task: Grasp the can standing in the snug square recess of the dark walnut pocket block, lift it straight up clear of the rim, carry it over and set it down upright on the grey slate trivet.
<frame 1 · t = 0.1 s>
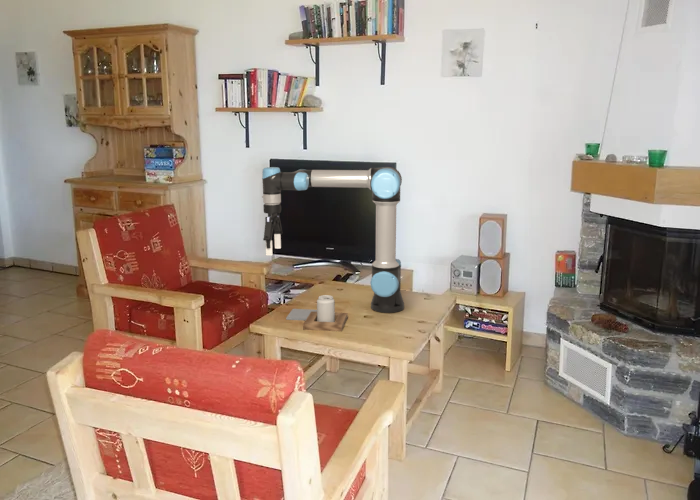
hand: (273, 251, 259), 28 cm above the table, fingers open, 13 cm apart
pocket block: (326, 323, 250), on the table
can: (326, 324, 250), resting in pocket block
trivet: (303, 315, 260), on the table
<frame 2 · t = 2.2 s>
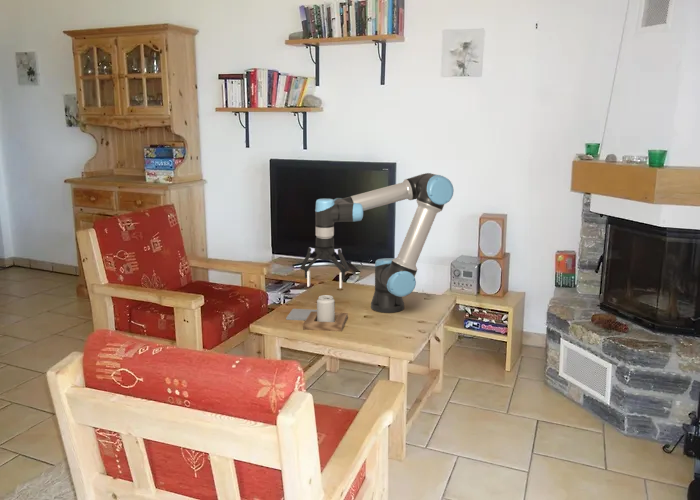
hand: (324, 286, 246), 16 cm above the table, fingers open, 13 cm apart
nothing on the table moved.
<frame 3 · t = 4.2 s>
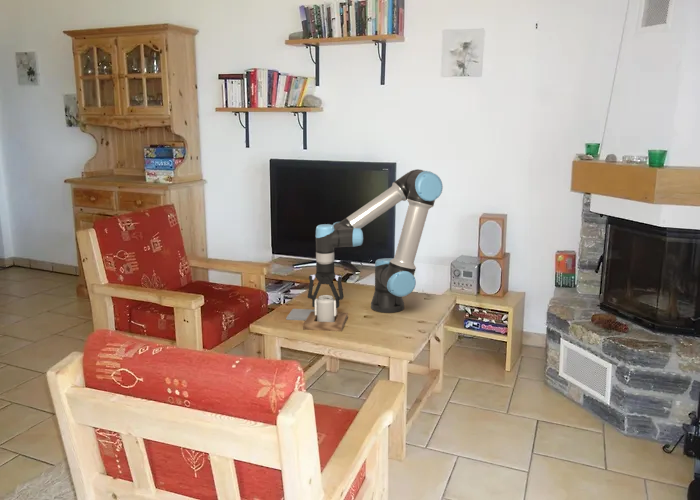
hand: (325, 314, 249), 4 cm above the table, fingers closed on can, 7 cm apart
can: (326, 324, 250), resting in pocket block, touching gripper
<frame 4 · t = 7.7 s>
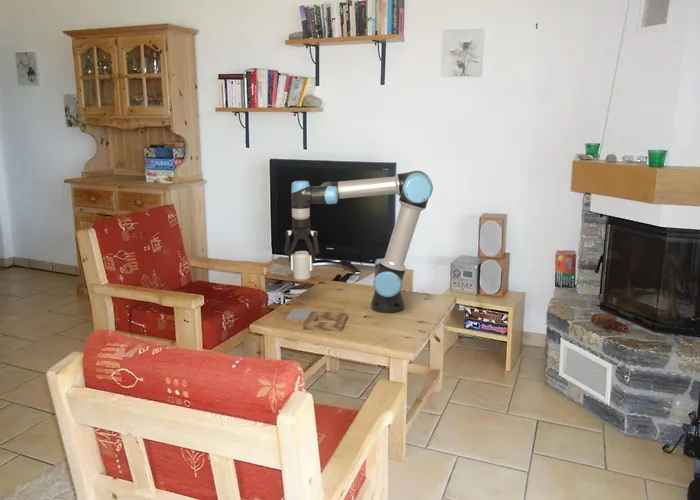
hand: (302, 269, 256), 21 cm above the table, fingers closed on can, 7 cm apart
can: (302, 279, 257), point 17 cm above the table, touching gripper
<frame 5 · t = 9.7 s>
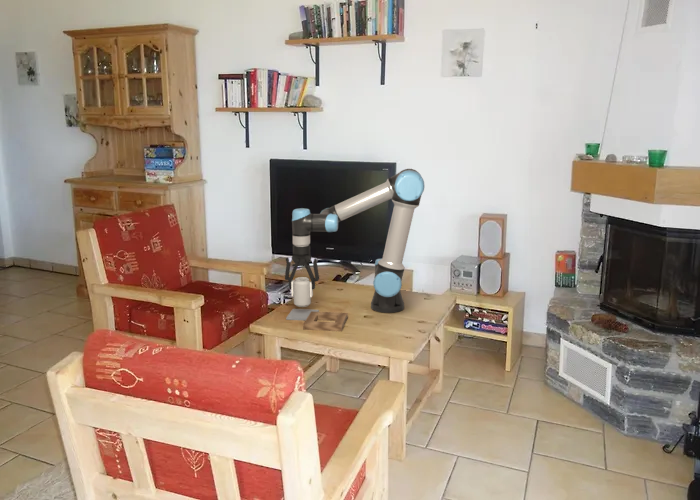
hand: (302, 295, 258), 9 cm above the table, fingers closed on can, 7 cm apart
can: (302, 305, 259), point 5 cm above the table, touching gripper
when the fingers open (6 cm above the table, at t = 11.3 s): can stays where it is, resting on trivet.
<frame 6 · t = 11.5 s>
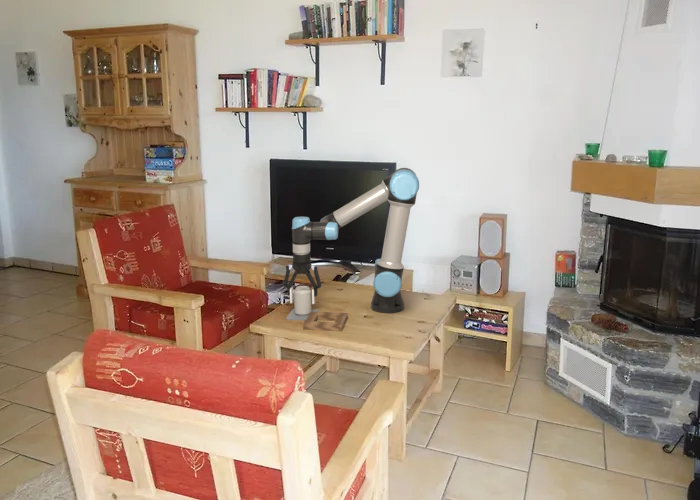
hand: (302, 302, 259), 6 cm above the table, fingers open, 9 cm apart
can: (303, 314, 260), point 1 cm above the table, touching trivet
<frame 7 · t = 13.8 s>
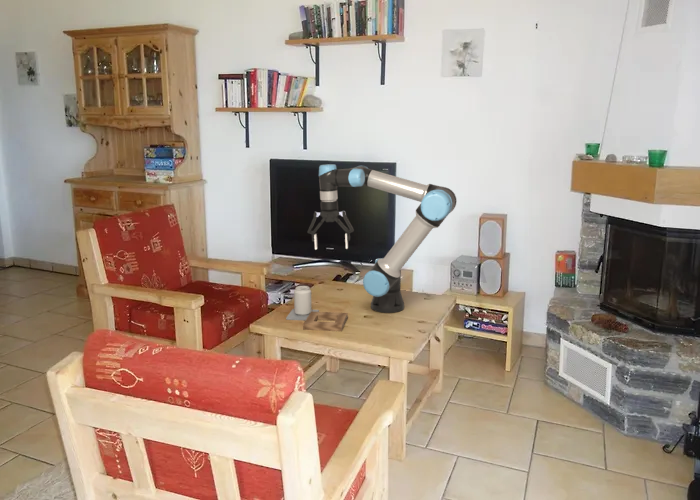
hand: (331, 248, 259), 29 cm above the table, fingers open, 13 cm apart
nothing on the table moved.
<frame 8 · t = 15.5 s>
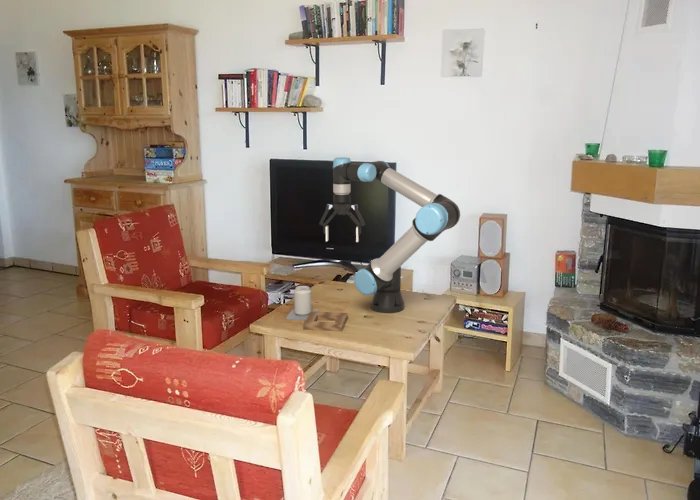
hand: (342, 241, 262), 32 cm above the table, fingers open, 13 cm apart
nothing on the table moved.
at the end: can inside the target area on the trivet (0.1 cm from its centre), point 0.8 cm above the trivet's base; can tilted 0°; the gripper is holding nothing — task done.
